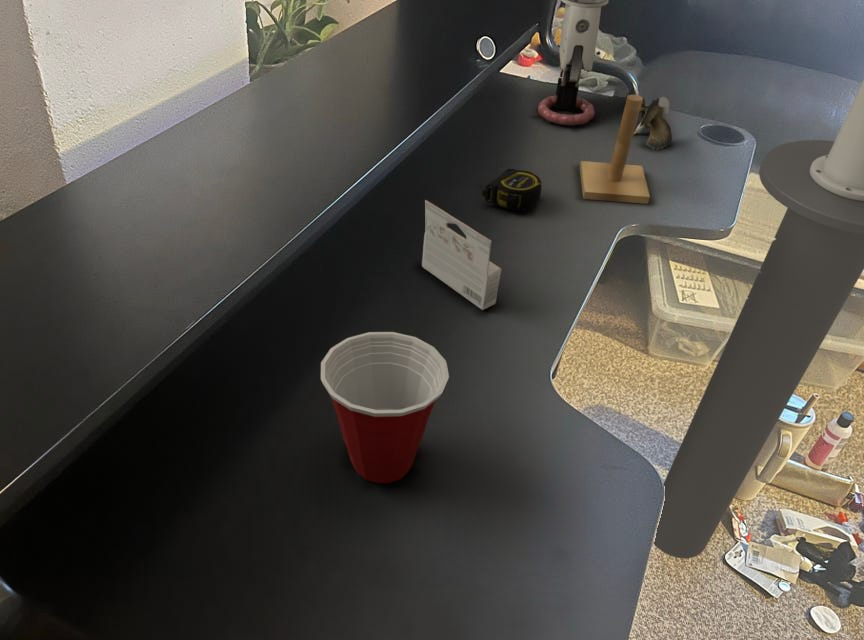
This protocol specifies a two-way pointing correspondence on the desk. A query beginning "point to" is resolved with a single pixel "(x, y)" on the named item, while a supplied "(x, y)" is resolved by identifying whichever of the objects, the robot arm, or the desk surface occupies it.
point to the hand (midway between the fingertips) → (564, 104)
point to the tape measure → (514, 190)
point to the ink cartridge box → (459, 258)
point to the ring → (566, 119)
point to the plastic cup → (383, 398)
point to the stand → (617, 166)
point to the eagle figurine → (656, 123)
